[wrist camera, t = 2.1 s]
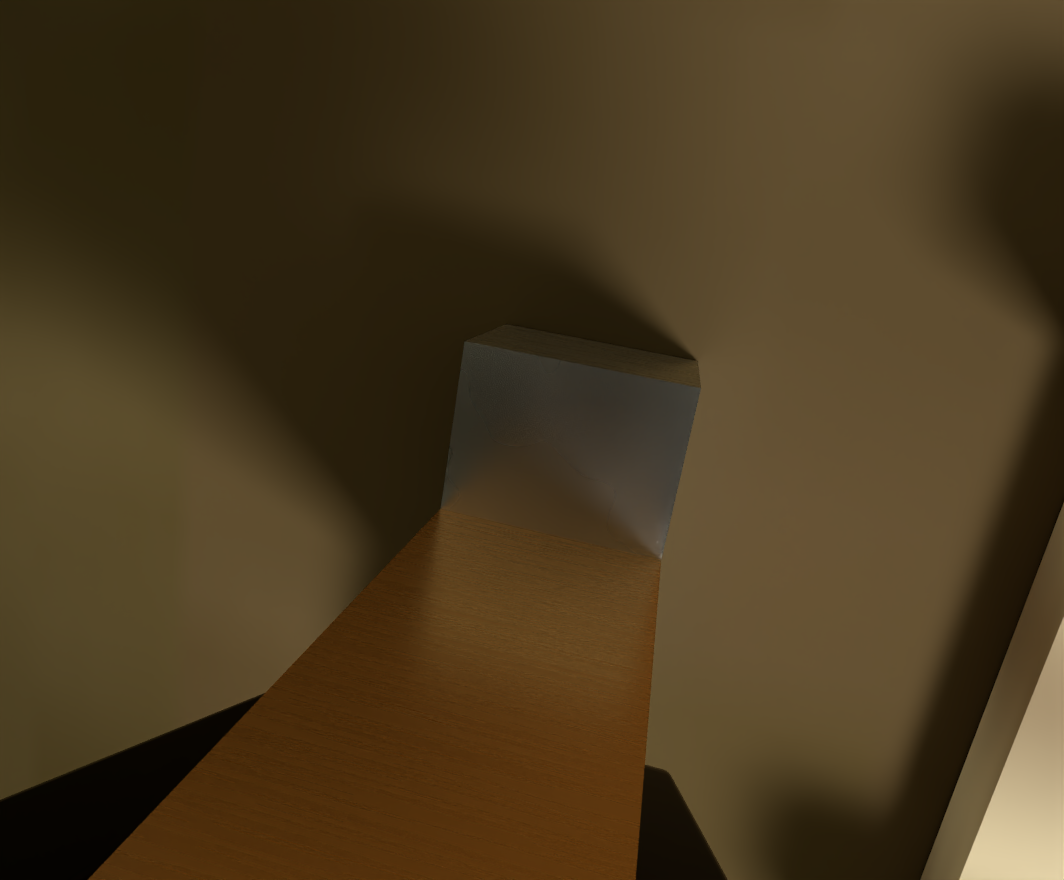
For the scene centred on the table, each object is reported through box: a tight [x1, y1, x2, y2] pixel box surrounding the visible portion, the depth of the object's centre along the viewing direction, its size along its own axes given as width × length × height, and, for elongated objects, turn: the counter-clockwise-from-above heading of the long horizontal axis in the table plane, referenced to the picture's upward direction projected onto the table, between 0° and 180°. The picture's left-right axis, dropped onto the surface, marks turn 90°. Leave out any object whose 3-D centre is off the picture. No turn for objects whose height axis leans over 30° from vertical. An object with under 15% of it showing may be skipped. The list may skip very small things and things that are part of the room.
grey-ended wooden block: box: [88, 324, 701, 880], centre depth 8 cm, size 8×3×10 cm, turn 170°
